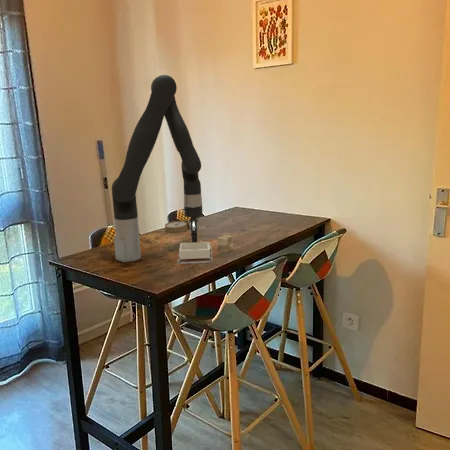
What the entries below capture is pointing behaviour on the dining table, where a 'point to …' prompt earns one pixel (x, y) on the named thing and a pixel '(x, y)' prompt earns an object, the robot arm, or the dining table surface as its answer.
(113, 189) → the robot arm
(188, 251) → the shallow white tray
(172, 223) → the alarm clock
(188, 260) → the track
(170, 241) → the dining table surface
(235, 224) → the dining table surface
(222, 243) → the block
